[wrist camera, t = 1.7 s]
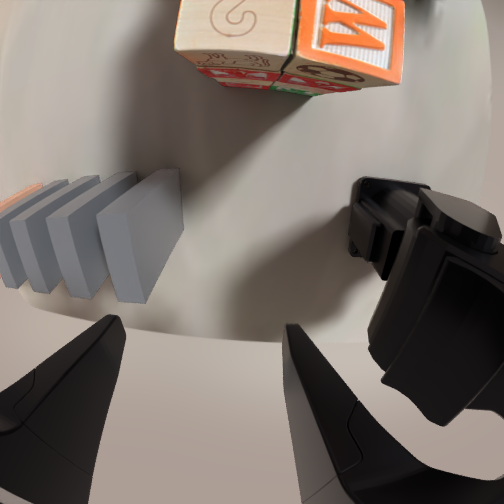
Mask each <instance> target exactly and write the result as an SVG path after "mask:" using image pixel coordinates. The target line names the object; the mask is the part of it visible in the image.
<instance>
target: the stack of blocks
mask: <svg viewBox="0 0 504 504" xmlns="http://www.w3.org/2000/svg"><path fill="white" fill-rule="evenodd" d="M404 35H405V4H404V2H403V0H181V1H180V6H179V12H178V17H177V23H176V29H175V36H174V50H175V51H176V52H177V53H178V54H180V55H181V56H183V57H184V58H186V59H187V60H189V61H191V62H192V63H194V64H196V65H197V70H198V71H200V72H201V73H203V74H205V75H206V76H208V77H211V78H213V79H215V80H216V81H218V83H220V84H221V85H222V86H230V87H244V88H255V89H264V90H268V89H270V90H278V91H285V92H291V93H297V94H303V95H308V96H318V95H323V94H327V93H334V92H347V91H353V90H354V91H356V90H361V89H362V88H367V87H378V86H391V85H399V84H401V79H402V70H403V56H404Z"/></svg>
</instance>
